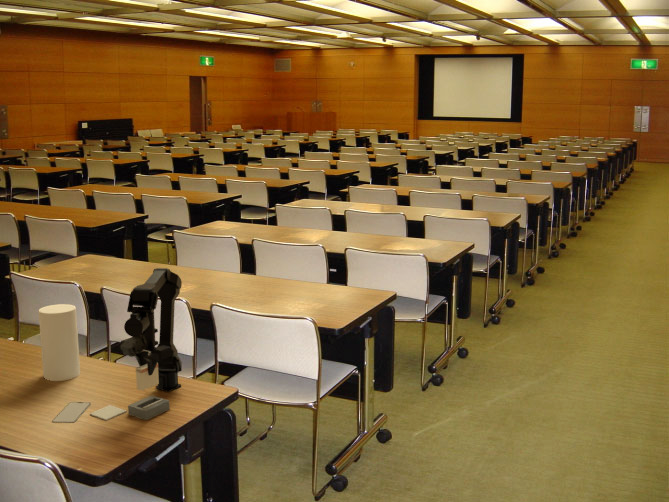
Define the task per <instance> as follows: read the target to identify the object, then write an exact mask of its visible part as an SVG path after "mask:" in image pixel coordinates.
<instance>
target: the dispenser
mask: <svg viewBox="0 0 669 502" xmlns="http://www.w3.org/2000/svg"><path fill="white" fill-rule="evenodd" d="M170 407H171V406H170V400H169V399H165V398H163V397H158V396H156V395H153V394H152V395H149V396H147V397H144V398H142V399H140V400H137V401H135V402H132V403H131V404H128V405H127V411H128V412H127V414H128V415H130V416H132V417H135V418H138V419H141V420H144V421H147V420H150V419H152V418H154V417H157V416H159V415H160V414H163V413H165V412H168V411H170V409H171V408H170Z"/></svg>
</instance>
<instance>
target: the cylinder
mask: <svg viewBox="0 0 669 502" xmlns="http://www.w3.org/2000/svg"><path fill="white" fill-rule="evenodd" d="M38 322H39V333H40V336H39V337H40V346H41V347H40V348H41V360H42V373H43V379H44V378H45V379H44V380H46V379H47V380H46V381H49V380H50V382H62V381H69V380H73V379H75V378H77V377H78V376H79V375H80V374H81V364H80V362H81V361H80V349H79V335H78V334H79V333H78V318H77V308H76V306H75V305H74V304H67V303H58V304H51V305H46V306H42V307H41V308H39V309H38Z"/></svg>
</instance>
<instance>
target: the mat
mask: <svg viewBox="0 0 669 502" xmlns="http://www.w3.org/2000/svg"><path fill="white" fill-rule="evenodd" d="M127 411H128V410H126V409H123V408H120V407H117V406H114V405H111V404H108V405H107V406H104V407H102V408H100V409H97V410H95V411H92V412H90V413H89V415H90V416H92V417H95V418H97V419H101V420H103V421H106V422H107V421H109V420H111V419H114V418H115V417H118V416H120V415H123V414H125V413H128V412H127Z"/></svg>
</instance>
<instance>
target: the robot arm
mask: <svg viewBox="0 0 669 502" xmlns="http://www.w3.org/2000/svg"><path fill="white" fill-rule="evenodd" d="M182 286H183V285H182V279H181V277H180V275H178V274H177V273H175V272H172V270H170V268H167V267H157V268H154V269H153V271H152V274H150V276H149V277H148V278H147V280H146V281H145V282H144V283H143V284H139V285H136V286H134V287H133V289H132V290H131V292H130V294H129V299H128V305H127V308H126V312H127V313H130V314H129V315H130V316H129V318H128V319H127V320H125V323H124V326H123V327H124V329H123V330H124V332H125V333H126V334H127V336H130V337H129V338H125V339H123V340H121V341H120V342H119V350H120V351H122V355H124V356H128V357H135V359H136V361H137V362H138V363H137V364H138V365H139V366H138V367H140V366H142V365H145V364H147V366H148V374H149V375H152V374H153V371H154V369H155V367H156V365H157V363H158V376H159V384H157V385H155V389H157V390H158V389H159V390H160V391H165V392H171V391H174V390H176V389H178V388H180V387H182V384H181V383H179V376H178V373H180V372H182V371H183V369H182V367H183V363H182V361H181V358H180V356H178V355H179V354H178V348H177V347H176V345H175V344H174V332H175V331H174V327H175V324H174V323H175V303H176V302H175V301H176V300H177V298H178V297H179V295H180V293H181V289H182ZM159 300H160V312H159V314H160V315H159V316H160V317H159V330H158V328H155V327H156V325H155V310H156V308H157V305H158V301H159ZM158 332H159V341H157V340H156V333H158Z"/></svg>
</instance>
